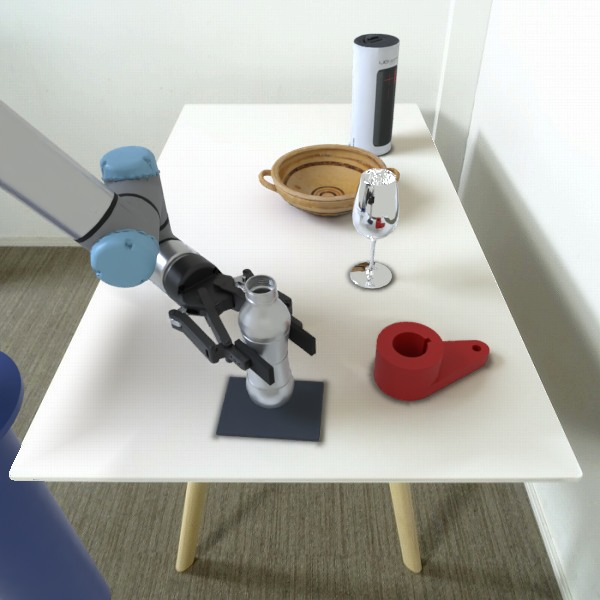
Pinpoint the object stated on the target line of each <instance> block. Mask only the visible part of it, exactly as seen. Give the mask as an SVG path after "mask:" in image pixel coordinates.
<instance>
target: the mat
mask: <svg viewBox="0 0 600 600" xmlns="http://www.w3.org/2000/svg"><path fill="white" fill-rule="evenodd" d="M324 385H325V382H324V381H317V380H316V381H315V380H314V381H313V380H298V379H297V380H296V379H294V389H293V393H292V396H291V398H290V399H289V400H288V402H286V403H285V404H284V405H282V406H280V407H277V408H272V409H271V408H264V407H261V406H259V405H257V404H256V403H254V402H253V401H252V400H251V398H250V396H249V394H248V391H247V388H246V377H243V376H242V377H241V376H229V379H228V383H227V387H226V391H225V395H224V399H223V402H222V407H221V410H220V415H219V419H218V422H217V426H216V431H215V434H216V435H217V436H228V437H245V438H247V437H248V438H259V439H261V438H262V439H273V440H293V441H305V442H306V441H308V442H320V439H321V437H320V436H321V423H322V414H323V413H322V412H323V399H324V387H325V386H324Z"/></svg>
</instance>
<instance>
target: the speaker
mask: <svg viewBox="0 0 600 600" xmlns="http://www.w3.org/2000/svg"><path fill="white" fill-rule="evenodd" d="M400 42H401V40H400V38H399V37H397V36H395V35H393V34H388V33H366V34H361V35H359V36H356V37H355V38H354V39H353V50H352V82H351V83H352V85H351V88H352V89H351V112H350V113H351V115H350V118H351V119H350V141H349V142H350V143H349V144H350V145H349V146H353V147H357V148H361V149H364V150H367V151H369V152H371V153H373V154H375V155H376V156H378V157H380V156H384V155H387V154H388V153H389V152H390V151H391V150H392V142H393V131H394V130H393V127H394V118H395V117H394V116H395V104H396V93H397V92H396V90H397V78H398V65H399V55H400Z"/></svg>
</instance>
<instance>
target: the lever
mask: <svg viewBox="0 0 600 600" xmlns="http://www.w3.org/2000/svg"><path fill="white" fill-rule="evenodd" d="M490 352H491V350H490V346H489V345H488V344H487V343H486V342H484V341H482V340H479V339H463V340H461V339H460V340H443V338H442V337H441V335H439V333H438V332H437V331H435V330H434V329H433V328H431V327H430V326H427V325H426V324H422V323H419V322H416V321H398V322H394V323H391V324H389V325H388V324H387V326H385V327H384V328H382V329H381V330H380V331H379V333H378V334H377V337H376V341H375V353H374V363H373V379H374V383H375V384H376V386H377V387H378V388H379V390H380V391H381V392H382V393H384V394H385V395H387V396H388V397H391V398H393V399H395V400H399V401H403V402H404V401H405V402H414V401H415V402H416V401H421V400H423V399H426V398H427V397H429V396H431V395H433V394H435V393H437V392H438V391H441V390H442V389H444V388H445V387H447V386H450V385H452V384H453V383H455V382H457V381H459V380H460V379H462V378H464V377H466V376H468V375H470V374H471V373H473V372H475V371H476V370H479V369H480V368H482V367H484V366H485V365H486V364H487V362H488V359H489V356H490Z"/></svg>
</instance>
